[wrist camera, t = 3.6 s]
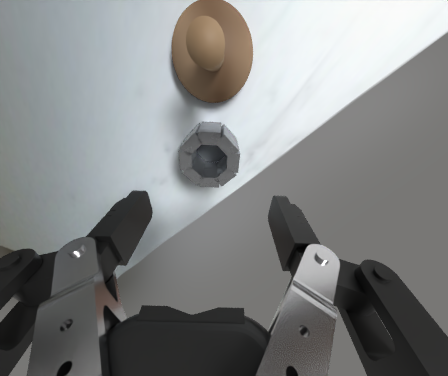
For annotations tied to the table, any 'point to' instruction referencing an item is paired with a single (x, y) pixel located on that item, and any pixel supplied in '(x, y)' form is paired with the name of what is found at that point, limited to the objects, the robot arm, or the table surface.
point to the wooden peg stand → (212, 50)
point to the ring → (209, 171)
